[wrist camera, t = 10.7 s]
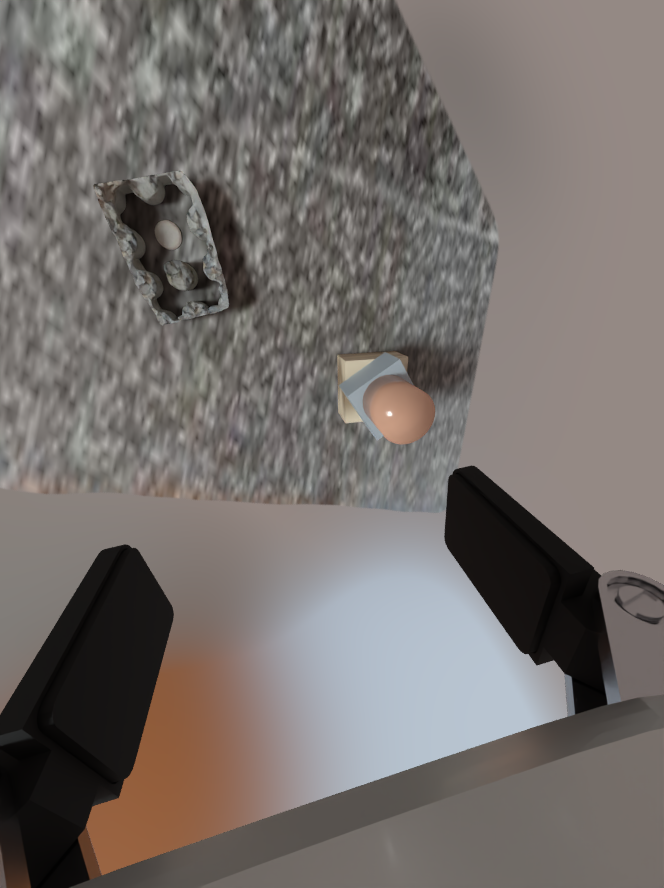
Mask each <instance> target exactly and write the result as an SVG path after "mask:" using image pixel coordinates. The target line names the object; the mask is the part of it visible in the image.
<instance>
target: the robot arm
mask: <svg viewBox="0 0 664 888" xmlns="http://www.w3.org/2000/svg"><path fill="white" fill-rule="evenodd" d="M444 537H445V543H446V545H447V547H448V549H449V551H450V552H451V553H452V555H453V556H454V558H455V559H456V561H457V562H458V563H459V565H460V566H461V568H462V569H463V571H464V572H465V573H466V575H467V576H468V578H469V579H470V580H471V582H472V583H473V585H474V586H475V588H476V589H477V591H478V592H479V593H480V595H481V596H482V597H483V599H484V600H485V602H486V603H487V605H488V606H489V608H490V609H491V610H492V612H493V613H494V615H495V616H496V617H497V619H498V620H499V622H500V623H501V624H502V626H503V627H504V629H505V630H506V632H507V633H508V634H509V636H510V637H511V639H512V640H513V642H514V643H515V644H516V646H517V647H518V649H519V650H520V651H521V652H522V653H524V654H529V655H530V657H531V658H532V660H533V661H534V663H535V664H536V665H540V664H543V663H546V662H550V661H553V660H554V661H555V662H556V663H557V664H558V666H559V667H560V668H561V669H562V671H563V672H564V674H565V687H566V700H567V712H568V717H566V718H563V719H559V720H556V721H553V722H549V723H546V724H543V725H540V726H536V727H533V728H530V729H527V730H525V731H521V732H518V733H515V734H513V735H509V736H506V737H503V738H501V739H498V740H495V741H492V742H489V743H486V744H483V745H480V746H477V747H474V748H471V749H468V750H465V751H462V752H459V753H456V754H453V755H450V756H447V757H444V758H441V759H438V760H435V761H432V762H429V763H426V764H423V765H420V766H417V767H414V768H411V769H408V770H405V771H402V772H400V773H397V774H394V775H391V776H388V777H385V778H382V779H379V780H376V781H373V782H370V783H367V784H364V785H361V786H358V787H355V788H352V789H350V790H347V791H344V792H341V793H338V794H335V795H332V796H329V797H326V798H323V799H320V800H317V801H315V802H312V803H309V804H306V805H303V806H300V807H297V808H294V809H291V810H288V811H285V812H283V813H280V814H277V815H274V816H271V817H268V818H265V819H262V820H259V821H256V822H253V823H251V824H248V825H245V826H242V827H239V828H236V829H233V830H230V831H227V832H224V833H222V834H219V835H216V836H213V837H210V838H207V839H204V840H201V841H199V842H196V843H193V844H190V845H187V846H184V847H182V848H178V849H175V850H173V851H170V852H167V853H164V854H161V855H158V856H155V857H153V858H150V859H147V860H144V861H141V862H138V863H135V864H132V865H130V866H127V867H124V868H121V869H118V870H116V871H113V872H110V873H108V874H105V875H101V871H100V868H99V865H98V862H97V859H96V855H95V853H94V849H93V846H92V843H91V840H90V837H89V834H88V830H87V828H86V824H87V821H88V818H89V814H90V812H91V808H92V806H95V805H98V804H101V803H104V802H107V801H110V800H114V799H117V798H119V796H120V792H121V789H122V785H123V781H124V779H126V778H127V777H128V776H129V775H130V773H131V771H132V769H133V766H134V763H135V759H136V756H137V752H138V749H139V745H140V741H141V737H142V734H143V730H144V726H145V722H146V719H147V715H148V711H149V707H150V704H151V700H152V696H153V692H154V689H155V685H156V681H157V678H158V674H159V670H160V667H161V663H162V659H163V655H164V652H165V648H166V644H167V640H168V637H169V633H170V629H171V625H172V622H173V616H174V613H173V608H172V605H171V604H170V602H169V601H168V599H167V597H166V595H165V594H164V592H163V590H162V589H161V587H160V585H159V584H158V582H157V581H156V579H155V577H154V575H153V574H152V572H151V571H150V569H149V567H148V566H147V564H146V562H145V561H144V559H143V557H142V556H141V554H140V552H139V551H138V550H137V549H136V548H131V547H130V546H129V545H121V546H117V547H112V548H108V549H104V550H102V551H101V552H100V553H99V554H98V556H97V557H96V559H95V561H94V562H93V564H92V566H91V567H90V569H89V570H88V572H87V574H86V575H85V577H84V579H83V580H82V582H81V584H80V585H79V587H78V588H77V590H76V592H75V593H74V595H73V597H72V598H71V600H70V602H69V603H68V605H67V606H66V608H65V610H64V611H63V613H62V615H61V616H60V618H59V620H58V621H57V623H56V625H55V626H54V628H53V629H52V631H51V633H50V635H49V636H48V638H47V639H46V641H45V643H44V644H43V646H42V647H41V649H40V651H39V652H38V654H37V655H36V657H35V659H34V660H33V662H32V664H31V665H30V667H29V669H28V670H27V672H26V674H25V675H24V677H23V678H22V680H21V682H20V683H19V685H18V687H17V688H16V690H15V692H14V693H13V695H12V696H11V698H10V700H9V701H8V703H7V705H6V706H5V708H4V709H3V711H2V713H1V715H0V888H664V585H663V584H661V583H659V582H657V581H655V580H653V579H651V578H648V577H646V576H643V575H640V574H637V573H634V572H629V571H623V570H617V571H609V572H607V573H604V574H603V575H602V576H601V575H600V574H599V573H598V572H596V571H595V570H594V567H593V566H592V565H590V564H589V563H588V562H587V561H585V559H583V558H582V557H581V556H580V555H579V554H578V553H576V552H575V551H574V550H573V549H572V548H570V547H569V546H568V545H567V544H566V543H565V542H563V541H562V540H561V539H560V538H559V537H558V536H556V535H555V534H554V533H553V532H552V531H551V530H549V529H548V528H547V527H546V526H545V525H543V524H542V523H541V522H540V521H539V520H537V519H536V518H535V517H534V516H533V515H532V514H531V513H529V512H528V511H527V510H526V509H525V508H524V507H522V506H521V505H520V504H519V503H518V502H517V501H515V500H514V499H513V498H512V497H511V496H509V495H508V494H507V493H506V492H505V491H504V490H503V489H501V488H500V487H499V486H498V485H497V484H495V483H494V482H493V481H492V480H491V479H490V478H488V477H487V476H486V475H485V474H484V473H483V472H481V471H480V470H479V469H478V468H477V467H475V466H468V467H464V468H459V469H456V470H454V471H453V475H450V476H449V479H448V493H447V507H446V522H445V536H444Z"/></svg>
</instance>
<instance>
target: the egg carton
mask: <svg viewBox="0 0 664 888" xmlns="http://www.w3.org/2000/svg"><path fill="white" fill-rule="evenodd" d="M171 184H175V185H176V186H177V187H178V188H179V189H180V191H181V192H182V193H183V194H185V195H187V196H190V197H191V198H192V202H193V205H192V207H191V208H190V209H189V211H188V213H187V222H188V225H189V228H190V230H191V232H192V233H193V234H195V235H196V236H197V237H199V238H200V239H201V240H203V241H207V245H208V247H210V248H211V250H210V248H208V249H207V255H206V256H204V258H203V271H204V273H205V274H206V276H207V277H208V278H209V279H210V280H213V281H217V282H219V283H220V286H219V289H218V292H219V293H220V294H221V298H220V299H219V303H218V305H214V306H211V307H210V308H209V307H208V306H207V305H206V304H204V303H203V302H199V301H190V302H187V303H186V306H185V307H183V309H182V315H181V316H179V317H178V318H177V317H176V316H175V314H174V313H172V312H171V311H168V310H162V309H161V307H160V306H159V304H158V301H157V298H158V297H160V296H161V294H162V293H163V284H162V282H161V280H160V279H159V277H158V276H157V275H155V274H154V273H151V272H148V271H146V270H145V268H144V267H143V265H142V264H141V262H140V260H139V258H141V257H142V256H143V255H144V253H145V248H146V246H145V242H144V240H143V238H142V237H141V236H140V235H139V234H138V233H137V232H136V231H134V230H132V229H131V228H129V227H128V226H127V225H125V224H124V223H123V222H122V220H121V216H120V214H121V213H122V212H123V211H124V209H125V207H126V197H125V194H128V193H134V194H135V195H136V196H138V197H139V198H140V199H142V200H143V201H144V202H145V203H147V204H149V205H158V204H160V203H161V202H162V201H163V200H164V197H165V188H164V186H165V185H171ZM94 190H95V193H96V195H97V197H98V201H99V203H100V206H101V208H102V210H103V212H104V215H105V218H106V220H107V222H108V224H109V226H110V228H111V230H112V232H113V234H114V235H115V236H116V239H117V241H118V244H119V246H120V249H121V252H122V254H123V257H124V258H125V260H126V262H127V264H128V267H129V269H130V271H131V274H132V276H133V278H134V281H135V284H136V285H137V287H138V288H139V290H140V292H141V293H142V295H143V296H144V298H145V299H146V301H147V302H148V304H149V305H150V307H151V308H152V310H153V311H154V313H155V314H156V316H157V319H158V321H159V322H160V324H161V325H164V324H171V323H176V322H179V321H180V320H186V319H191V318H194V317H199V316H203V315H206V314H213V313H217V312H219V311H222V310H224V309H226V308H228V306H229V302H228V289H227V287H226V284H225V279H224V276H223V273H222V268H221V265H220V263H219V261H218V257H217V252H216V248H215V245H214V242H213V238H212V234H211V231H210V227H209V223H208V219H207V216H206V213H205V211H204V208H203V205H202V202H201V200H200V197H199V195H198V192H197V190H196V189H195V187H194V185H193V184H192V183H191V182H190V180H189V179H188V178H187V177H186V175H185V174H184V173H183V171H175V172H168V173H164V174H158V175H150V176H146V177H142V178H135V179H130V180H120V181H113V182H107V183H100V184H94ZM155 236H156V239H157V241H158V242H159V244H160V245H161V246H163V247H164V248H166V249H168V250H175V249H177V248H178V247H179V246H180V245H181V242H182V235H181V231H180V230H179V228H178V227H177V225H175V224H174V223H173V222H171V221H169V220H162V221H159V222H158V224H157V225H156V226H155ZM164 271H165V273H166V274H167V278H168V281H169V283H170V284H171V285H172V286H174V287H175V288H176V289H179V290H188V291H189V290H192V289H193V288H195V287H196V285H197V283H198V275H197V273H196V271H195V270H194V268H193V267H192V266H190V265H189V264H187V263H185V262H182V261H179V260H173V261H168V262H166V263H165V264H164ZM184 292H185V291H184Z"/></svg>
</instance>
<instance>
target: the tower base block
mask: <svg viewBox="0 0 664 888" xmlns="http://www.w3.org/2000/svg"><path fill="white" fill-rule="evenodd" d="M383 353H384V352H373V353H357V354H341V355H338V412H339V414H340V415H341V417H342V419H343V420H344V422H345V423H353V422H363V421H362V419H361V418H360V416H359V415H358V413H357V412H356V410H355V409H354V407H353V406H352V404H351V403H350V401H349V400H348V399H347V397H346V396H345V394H344V393H343V391H342V390H341V388H340V387H339V385H340V384H341V383H343V382H344V381H345V380H347V379H348V378H350V377H351V376H352V375H354V374H355V373H357V372H358V371H359V370H361V369H362V368H363V367H365V366H366V365H368V364H369V363H370V362H372V361H373V360H375V359H376V358H377V357H379V356H380V355H382V354H383ZM386 353H388V354H390V355H392V356H394V357H397V358H399V359H400V360H401V362H402V364H403V366H404V368H405V370H406V372H407V366H408V357H407V356H405V355H403V354H401V353H398V352H396V351H389V352H386Z"/></svg>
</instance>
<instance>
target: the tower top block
mask: <svg viewBox="0 0 664 888" xmlns="http://www.w3.org/2000/svg"><path fill="white" fill-rule="evenodd" d="M384 375H396V376H399V377H401V378H402V379H404V380H406V381H407V382H409V383H411V384H412V385H413V383H412V381H411V379H410V377H409V375H408V373H407V372H406V370H405V368H404V366H403V364H402V362H401V360H400V359H399V358H397V357H394V356H392V355H390V354H388V353H386V352H384V353H383V354H382V355H380V356H379V357H377V358H376V359H375V360H373V361H372V362H370V363H369V364H368V365H366V366H365V367H363V368H362V369H361V370H359V371H358V372H357V373H355V374H354V375H352V376H351V377H350V378H348V379H347V380H345V381H344V382H343V383H341V384H340V385H339V387H340V388H341V390H342V391H343V393H344V394H345V396H346V397H347V399H348V400H349V401H350V403H351V404H352V406H353V407H354V409H355V410H356V412H357V413H358V415H359V416H360V418H361V419H362V421H363V422H364V424H365V425H366V426H367V428H368V429H369V430H370V432H371V433H372V434H373V436H374V437H375V438H376V439H377V440H379V439H380V438H382V437H383V436H384V435H383V434H382V433H381V432H380V431H379V429H378V428H377V427H376V426H375V425H374V424H373V422H372V421H371V420H370V419H369V418H368V416H367V415H366V414H365V412H364V409H363V402H362V401H363V395H364V393H365V390H366V389H367V387H368V386H369V385H370V383H371V382H373V381H374V380H375V379H377V378H378V377H381V376H384Z"/></svg>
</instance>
